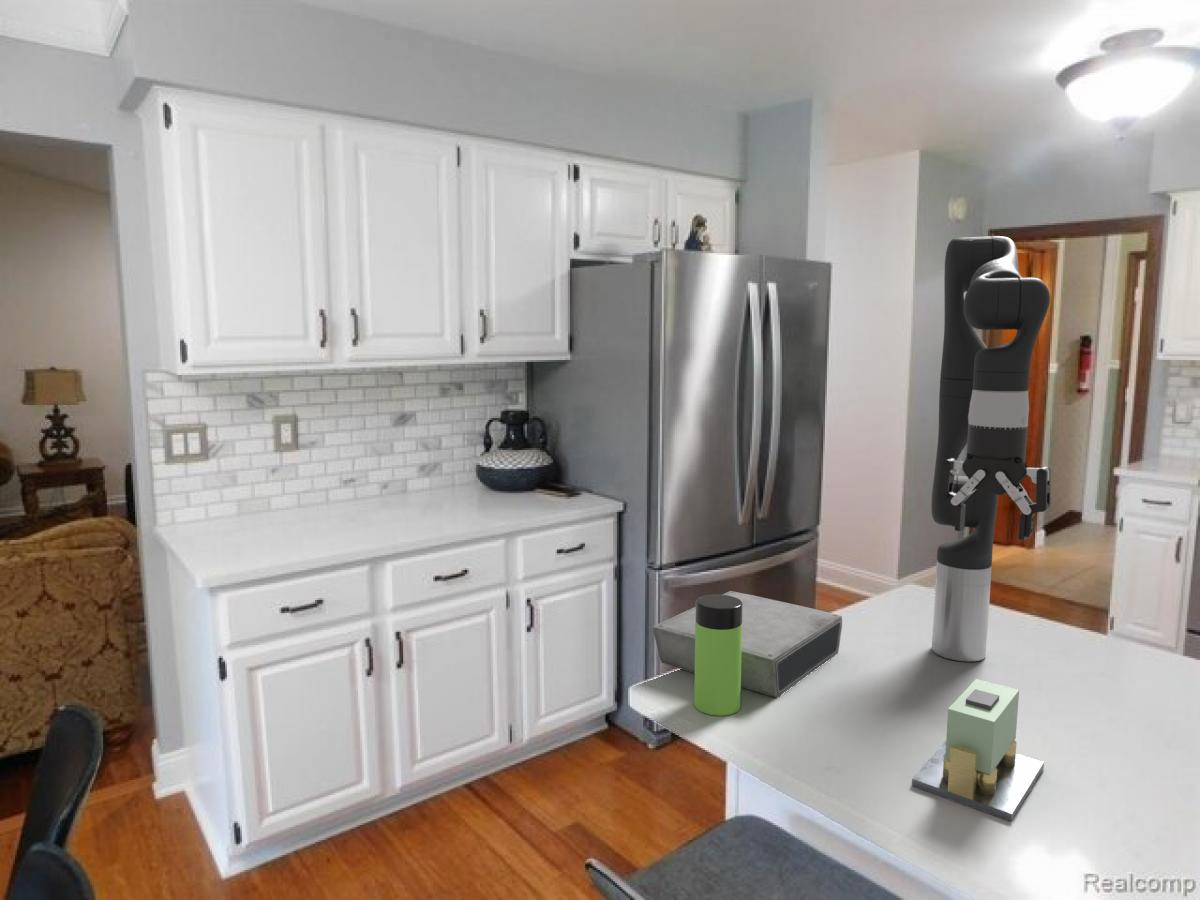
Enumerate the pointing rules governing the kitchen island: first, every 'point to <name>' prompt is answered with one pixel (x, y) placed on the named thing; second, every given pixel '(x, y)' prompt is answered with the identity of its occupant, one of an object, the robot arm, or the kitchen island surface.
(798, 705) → the kitchen island surface
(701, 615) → the tumbler
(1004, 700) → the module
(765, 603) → the speaker
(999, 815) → the metal plate
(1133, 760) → the kitchen island surface
